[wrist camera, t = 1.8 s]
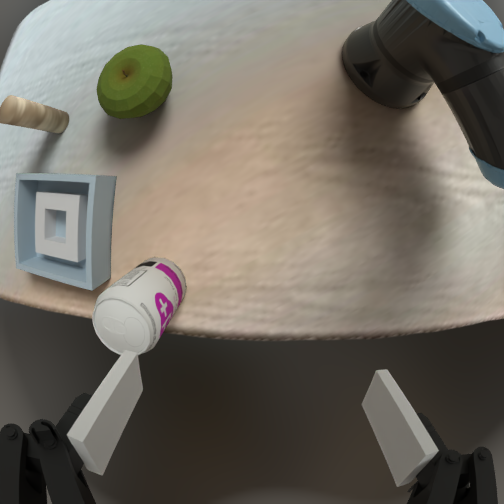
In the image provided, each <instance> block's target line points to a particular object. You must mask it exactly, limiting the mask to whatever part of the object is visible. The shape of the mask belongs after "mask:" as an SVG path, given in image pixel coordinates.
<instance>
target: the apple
mask: <svg viewBox="0 0 504 504" xmlns="http://www.w3.org/2000/svg"><path fill="white" fill-rule="evenodd" d="M171 88H172V71H171V67H170V63H169V59H168V57H167V56H166V55H165V54H164V53H163V52H162V51H161V50H160V49H158V48H155V47H152V46H147V45H136V46H131V47H127V48H125V49H124V50H122V51H120V52H119V53H117V54H116V55H115V56H114V57H113V58H112V59H111V60H110V61H109V62H108V63H107V64H106V65H105V67H104V69H103V71H102V73H101V75H100V77H99V80H98V85H97V95H98V100H99V103H100V105H101V107H102V108H103V109H104V111H105V112H106V113H107V114H108V115H110V116H113V117H116V118H119V119H124V118H135V117H142V116H144V115H146V114H148V113H150V112H152V111H154V110H155V109H156V108H158V107H159V106H160V105H161V104H162V103H163V102H164V101H165V100H166V98H167V96H168V94H169V92H170V91H171Z"/></svg>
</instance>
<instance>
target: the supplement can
mask: <svg viewBox="0 0 504 504" xmlns="http://www.w3.org/2000/svg"><path fill="white" fill-rule="evenodd" d="M186 288H187V286H186V280H185V276H184V275H183V273H182V271H181V269H180V268H179V267H178V266H177V265H176V264H175V263H174V262H172V261H170V260H168V259H166V258H161V257H153V258H150V259H147V260H145V261H144V262H143V263H141V264H140V265H138V266H137V267H136V268H134V269H133V270H131V271H130V272H129V273H127V274H126V275H125V276H123V277H122V278H121V279H119V280H118V281H117V282H115V283H114V284H112V285H111V286H110V287H108V288H107V289H106V290H105V291H104V292H102V293H101V294H100V295H99V296H98V299H97V301H96V303H95V307H94V311H93V326H94V328H95V332H96V334H97V335H98V337H99V338H100V340H101V341H102V343H104V344H105V345H106V346H107V347H108V348H109V349H110V350H112V351H114V352H116V353H117V354H119V355H122V353H123V352H124V351H125V350H127V351H132V352H136V353H138V355H140V354H141V353H145V352H147V351H149V350H151V349H152V348H154V346H155V345H156V343H157V342H158V340H159V338H160V337H161V335H162V333H163V332H164V330H165V328H166V326H167V325H168V323H169V321H170V320H171V318H172V316H173V315H174V313H175V311H176V310H177V308H178V306H179V305H180V303H181V301H182V300H183V298H184V296H185V293H186Z"/></svg>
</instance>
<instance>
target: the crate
mask: <svg viewBox="0 0 504 504" xmlns="http://www.w3.org/2000/svg"><path fill="white" fill-rule="evenodd" d="M116 177H117V176H102V175H83V174H55V173H16V185H15V201H14V243H15V259H16V268H18V269H21V270H24V271H27V272H30V273H33V274H36V275H39V276H42V277H46V278H49V279H52V280H55V281H59V282H62V283H66V284H69V285H73V286H77V287H80V288H84V289H88V290H91V291H93V290H94V289H95V288H97V287H98V286H100V285H101V284H103V283H104V282H105V281H107V280H108V279H110V278H111V235H112V218H113V205H114V195H115V186H116Z"/></svg>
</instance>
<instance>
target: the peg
mask: <svg viewBox="0 0 504 504" xmlns="http://www.w3.org/2000/svg"><path fill="white" fill-rule="evenodd" d="M0 123H3V124H9V125H15V126H21V127H26V128H32V129H37V130H42V131H47V132H52V133H57V134H59V133H62V132H63V131H64V130H65V129H66V127H67V125H68V123H69V115H68V113H67V112H64V111H61V110H58V109H55V108H52V107H49V106H46V105H43V104H39V103H36V102H33V101H30V100H26V99H23V98H19V97H16V96H12V95H10V96H8V97H7V98H6V99H5V100H4V101H3V103H2V105H1V107H0Z"/></svg>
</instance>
